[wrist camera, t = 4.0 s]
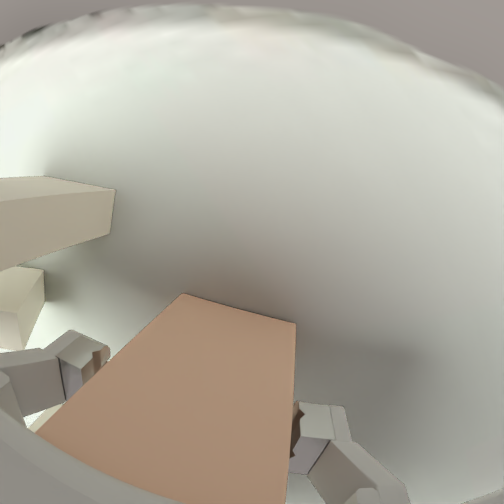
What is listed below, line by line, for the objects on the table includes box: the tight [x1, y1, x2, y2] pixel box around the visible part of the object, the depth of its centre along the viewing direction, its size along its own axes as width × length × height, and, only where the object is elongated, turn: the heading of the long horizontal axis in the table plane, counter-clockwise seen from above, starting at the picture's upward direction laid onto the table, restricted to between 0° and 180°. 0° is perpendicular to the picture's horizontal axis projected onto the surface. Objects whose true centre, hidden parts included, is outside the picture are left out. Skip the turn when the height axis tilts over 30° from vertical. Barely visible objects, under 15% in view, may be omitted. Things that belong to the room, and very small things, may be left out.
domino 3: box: [35, 293, 296, 504], centre depth 8 cm, size 2×5×10 cm, turn 77°
